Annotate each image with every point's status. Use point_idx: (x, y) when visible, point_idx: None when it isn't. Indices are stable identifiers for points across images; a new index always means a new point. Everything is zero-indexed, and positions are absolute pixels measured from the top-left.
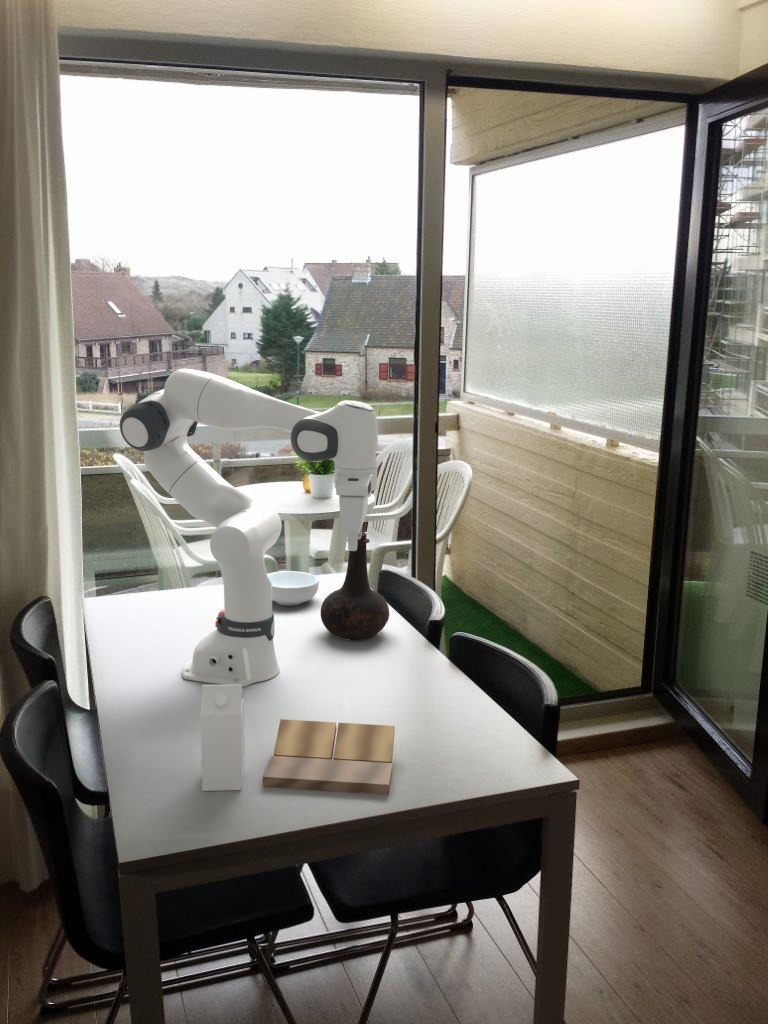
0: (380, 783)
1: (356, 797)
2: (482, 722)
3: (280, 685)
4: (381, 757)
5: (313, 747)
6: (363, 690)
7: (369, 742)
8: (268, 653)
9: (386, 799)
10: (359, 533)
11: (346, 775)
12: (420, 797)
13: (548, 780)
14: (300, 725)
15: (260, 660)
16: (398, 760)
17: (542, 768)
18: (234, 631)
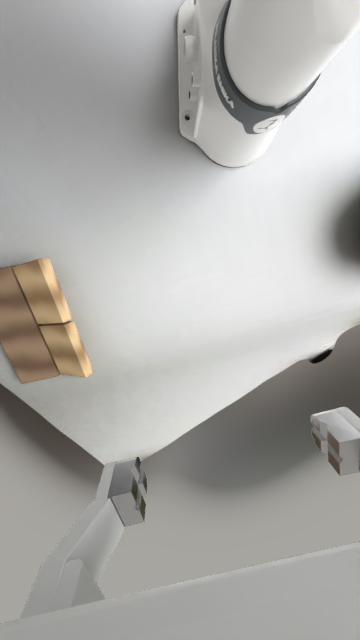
0: (20, 377)
1: None
2: (185, 410)
3: (204, 187)
4: (59, 366)
5: (36, 305)
6: (220, 291)
7: (63, 356)
8: (234, 142)
9: None
10: (332, 460)
11: (15, 348)
12: (37, 399)
13: None
14: (43, 285)
15: (216, 137)
16: None
17: None
18: (214, 46)
